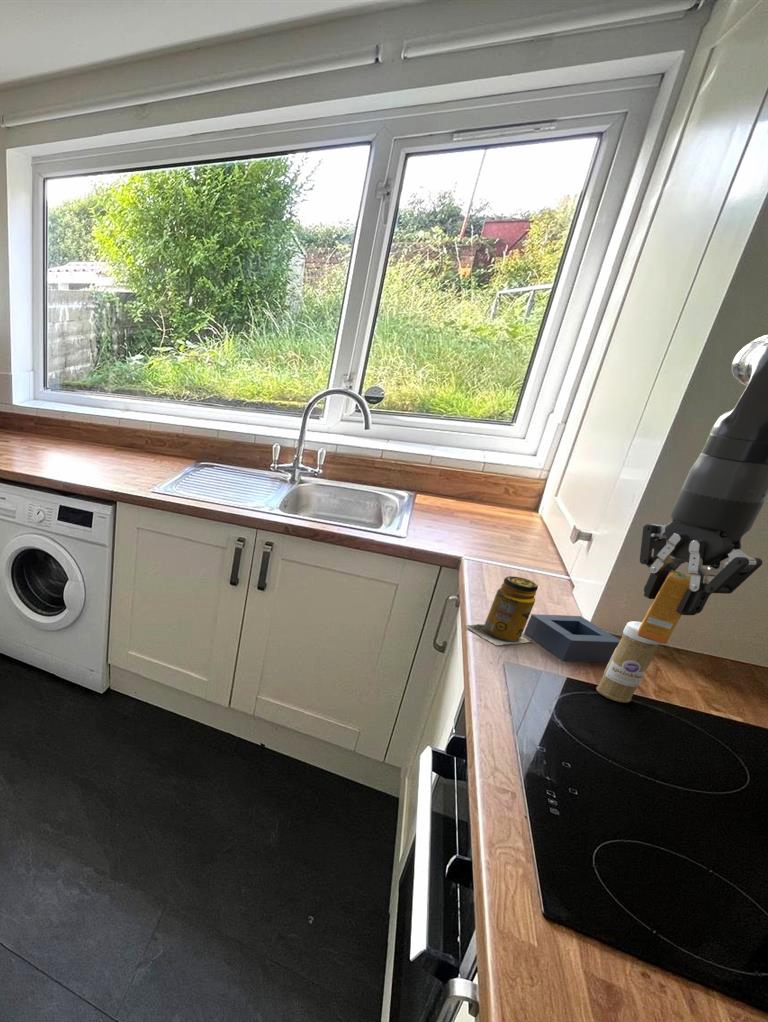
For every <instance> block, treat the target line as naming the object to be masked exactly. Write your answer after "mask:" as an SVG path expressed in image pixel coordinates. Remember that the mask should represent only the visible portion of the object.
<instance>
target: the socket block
mask: <svg viewBox="0 0 768 1022" xmlns="http://www.w3.org/2000/svg"><path fill="white" fill-rule="evenodd" d="M523 634H524V635H525V636H527V637H528V638H530V639H531V640H532V641H534V642H536V643H537V644H538V645H539V646H541V647H542V648H544V649H545V650H546V651H548V652H549V653H551V654H552V655H553V656H555V657H557V658H558V659H559V660H561V662H580V663H603V664H606V663H607V664H608V663H609V661H610V659H611V657H612V655H613V653H614V651H615V649H616V647H617V646H618V644H619V642H620V640H621V638H620V639H619V638H618V637H616V636H614V635H613V634H611V633H610V632H608V631H606V630H604V629H603V628H601V627H599V626H598V625H596V624H594V623H593V622H591V621H590V620H588V619H586V618H584V617H583V616H581V615H563V614H539V613H536V614H535V613H530V616H529V618H528V621H527V623H526V626H525V628H524V631H523Z"/></svg>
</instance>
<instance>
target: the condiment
mask: <svg viewBox="0 0 768 1022" xmlns="http://www.w3.org/2000/svg"><path fill="white" fill-rule="evenodd" d="M538 588H539V586H538V585H537V583H536V582H534V581H532V580H530V579H527V578H524V577H520V576H511V575H510V576H506V577H505V578H504V579H503V582H502V584H501V585H500V588H498V589H497V590H496V593H495V595H494V599H493V601H492V603H491V606H490V609H489V612H488V615H487V617H486V620H485V622H484V623H477V624H466V625H464V627H465V628H467V629H468V630H470V631H472V632H473V633H475V634H476V635H478V637H481V638H482V639H484V640H486V641H488V642H489V643H491V644H493V645H494V646H503V645H517V644H527V643H532V641H531V640H529V639H528V638H525V637H524V636H522V634H523V633H524V631H525V629H526V626H527V624H528V621H529V619H530V616H531V614H532V613H531V612H532V610H533V608H534V605H535V602H536V597H535V596H536V595H537V590H538Z"/></svg>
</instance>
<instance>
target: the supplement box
mask: <svg viewBox="0 0 768 1022" xmlns="http://www.w3.org/2000/svg"><path fill="white" fill-rule="evenodd" d="M690 577H691V574H689V573H685V572H680V571H677V570H675V571H673V570H671V571H670V572H669V574H668V576H667V577H666V579H665V581H664V583H663V585H662V586H661V588H660V590H659V592H658V594H657V596H656V597H655V599H653V601H652V603H651V605H650V606H649V609H648V610H647V612H646V613H645V616H644V617H643V620H642V621H641V622H642V623H641V625H640V627H639V630H638V633H637V635H638V636H640V637H643V638H646V639H649V640H652V641H655V642H659V643H661V644H662V645H667V643H668V641H669V639H670V637H671V635H672V633H673V631H674V630H675V628H676V626H677V624H678V623H679V621H680V619H681V617H682V616H683V615H682V614H680V613H678V612H677V611H676V610H677V608H678V606H679V604H680V602H681V600H682V598H683V596H684V594H685V592H686V590H687V589H690V588H689V585H690Z"/></svg>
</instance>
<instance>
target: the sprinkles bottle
mask: <svg viewBox="0 0 768 1022" xmlns="http://www.w3.org/2000/svg"><path fill="white" fill-rule="evenodd" d="M642 622H643V621H634V620H633V621H628V622H627V623H626V625H625V627H624V629H623V631H622V632H623V633H622V637H621V638H620V642H619V644H618V646H617V647H616V649H615V651H614V653H613V655H612V657H611V659H610V661H609V663H607V665H606V668H605V669H604V672H603V676H602V677H601V679H600V682H599V684H598V685H597V686H596V691H597V693H599V695H601V696H603V697H605V698H606V699H608V700H611V701H614V702H617V703H624V704H626V703H630V702H631V701H632V699H633V696H634V694H635V692H636V690H637V688H638V687H639V685H640V683H641V682H642V679H643V678H644V676H645V674H646V672H647V670H648V668H649V666H650V664H651V662H652V660H653V657H654V654H655V653H656V651H657V649H658V647H659V646H660V645H661V644H662V643H659V642H655V641H652V640H649V639H646V638H643V637H640V636H638V635H637V633H638V630H639V627H640V625H641V623H642Z"/></svg>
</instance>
